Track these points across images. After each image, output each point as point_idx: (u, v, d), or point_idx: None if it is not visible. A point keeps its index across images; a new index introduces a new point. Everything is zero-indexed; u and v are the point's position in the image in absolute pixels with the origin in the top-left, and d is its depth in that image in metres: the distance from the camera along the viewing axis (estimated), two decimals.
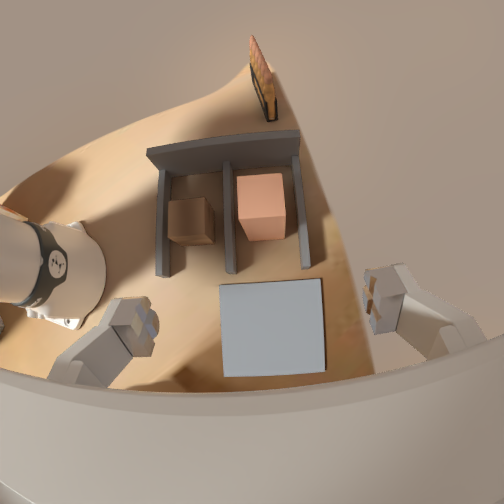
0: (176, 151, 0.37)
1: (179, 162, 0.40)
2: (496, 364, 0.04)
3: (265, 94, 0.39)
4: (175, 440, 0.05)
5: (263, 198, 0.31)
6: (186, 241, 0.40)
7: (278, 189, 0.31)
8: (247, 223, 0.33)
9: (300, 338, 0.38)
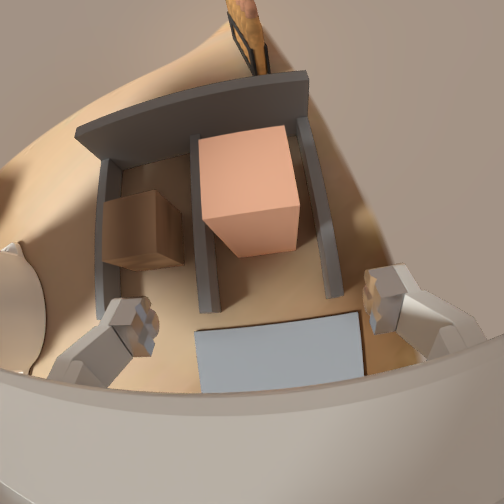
0: (114, 124, 0.21)
1: (125, 144, 0.25)
2: (496, 364, 0.04)
3: (249, 36, 0.23)
4: (175, 440, 0.05)
5: (250, 175, 0.15)
6: (136, 264, 0.24)
7: (280, 155, 0.15)
8: (224, 227, 0.17)
9: None
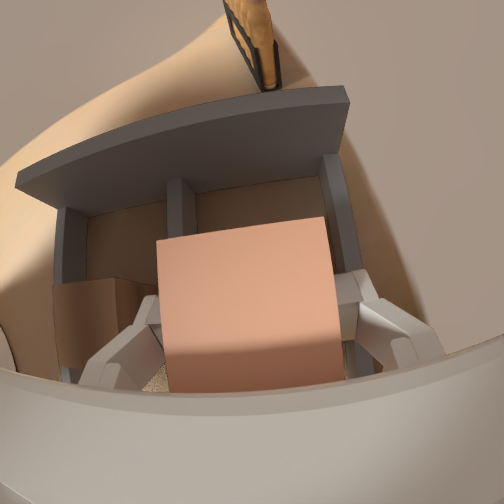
0: (58, 170, 0.14)
1: (82, 192, 0.17)
2: (496, 364, 0.04)
3: (252, 30, 0.16)
4: (175, 440, 0.05)
5: (255, 331, 0.08)
6: None
7: (317, 290, 0.08)
8: None
9: None
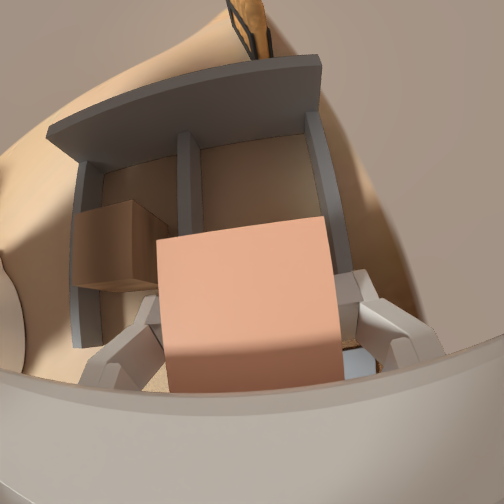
0: (88, 121, 0.17)
1: (104, 144, 0.20)
2: (496, 363, 0.04)
3: (249, 18, 0.19)
4: (176, 440, 0.05)
5: (255, 331, 0.08)
6: (114, 287, 0.19)
7: (316, 290, 0.08)
8: None
9: None
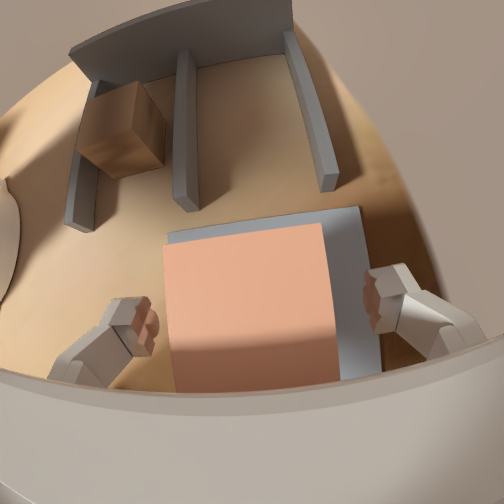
0: (107, 37, 0.18)
1: (116, 61, 0.21)
2: (496, 364, 0.04)
3: None
4: (176, 440, 0.05)
5: (256, 331, 0.08)
6: (112, 161, 0.20)
7: (313, 292, 0.08)
8: None
9: None
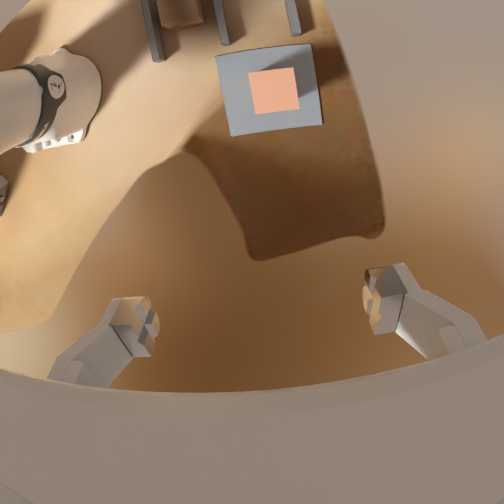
0: None
1: None
2: (496, 363, 0.04)
3: None
4: (176, 440, 0.05)
5: (276, 93, 0.29)
6: (178, 25, 0.30)
7: (291, 84, 0.28)
8: None
9: None
